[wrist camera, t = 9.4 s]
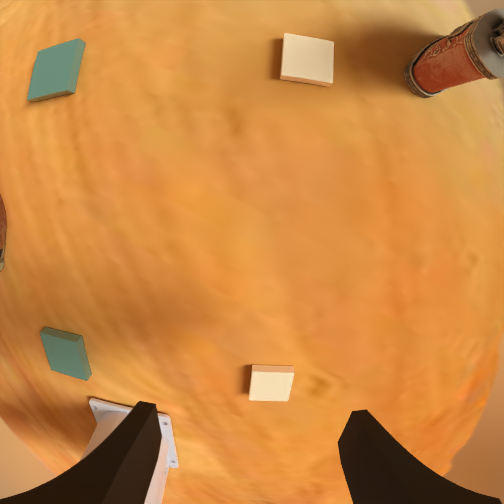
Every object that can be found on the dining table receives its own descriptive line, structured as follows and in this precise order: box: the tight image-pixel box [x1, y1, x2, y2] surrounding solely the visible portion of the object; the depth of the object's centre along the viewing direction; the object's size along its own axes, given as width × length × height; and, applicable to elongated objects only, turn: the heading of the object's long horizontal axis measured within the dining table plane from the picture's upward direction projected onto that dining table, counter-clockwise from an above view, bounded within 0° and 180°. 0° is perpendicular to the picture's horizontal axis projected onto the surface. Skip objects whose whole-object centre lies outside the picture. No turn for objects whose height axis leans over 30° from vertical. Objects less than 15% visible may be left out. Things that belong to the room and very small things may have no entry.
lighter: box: [404, 9, 504, 98], centre depth 9 cm, size 8×3×10 cm, turn 133°
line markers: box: [27, 33, 334, 401], centre depth 16 cm, size 26×20×1 cm
